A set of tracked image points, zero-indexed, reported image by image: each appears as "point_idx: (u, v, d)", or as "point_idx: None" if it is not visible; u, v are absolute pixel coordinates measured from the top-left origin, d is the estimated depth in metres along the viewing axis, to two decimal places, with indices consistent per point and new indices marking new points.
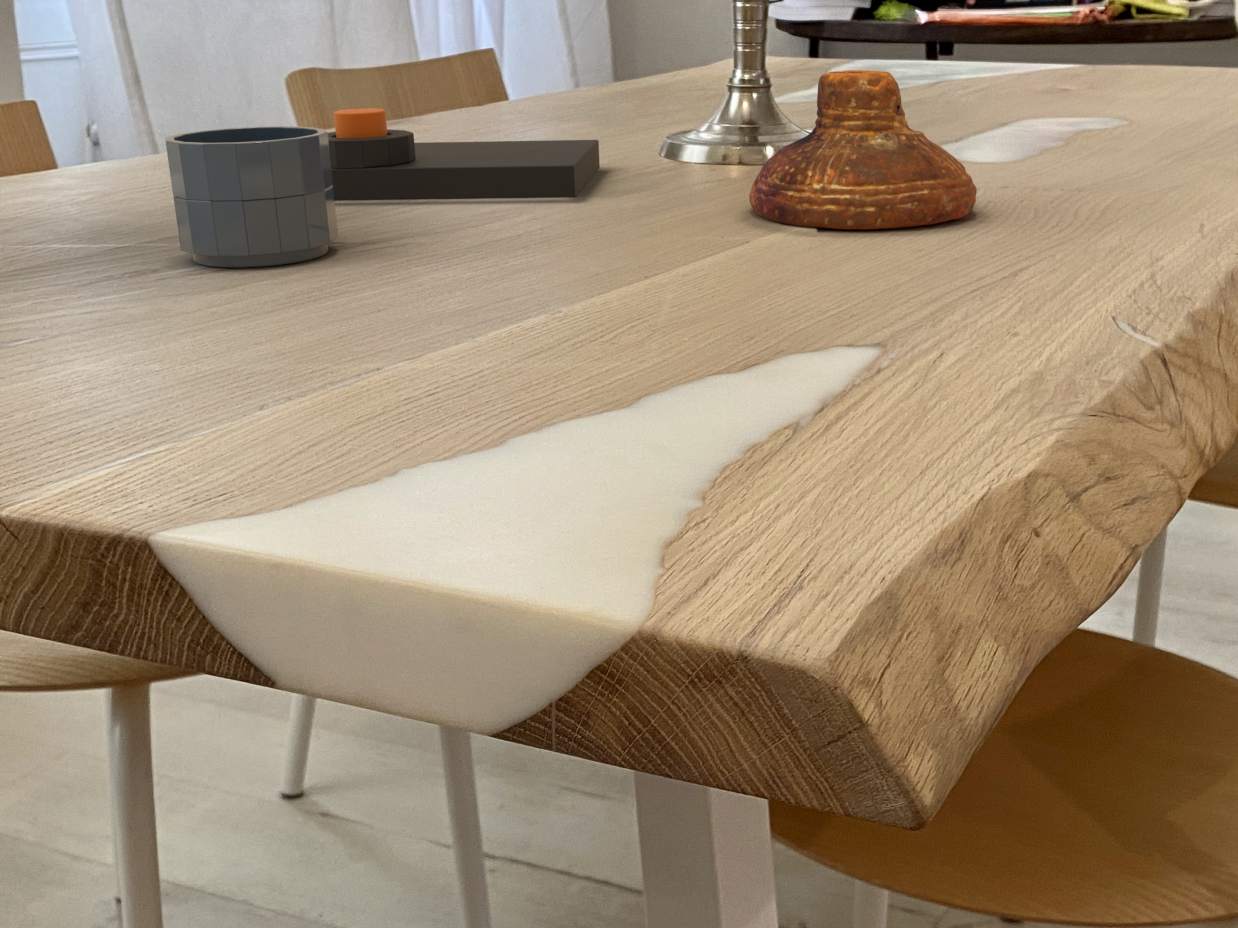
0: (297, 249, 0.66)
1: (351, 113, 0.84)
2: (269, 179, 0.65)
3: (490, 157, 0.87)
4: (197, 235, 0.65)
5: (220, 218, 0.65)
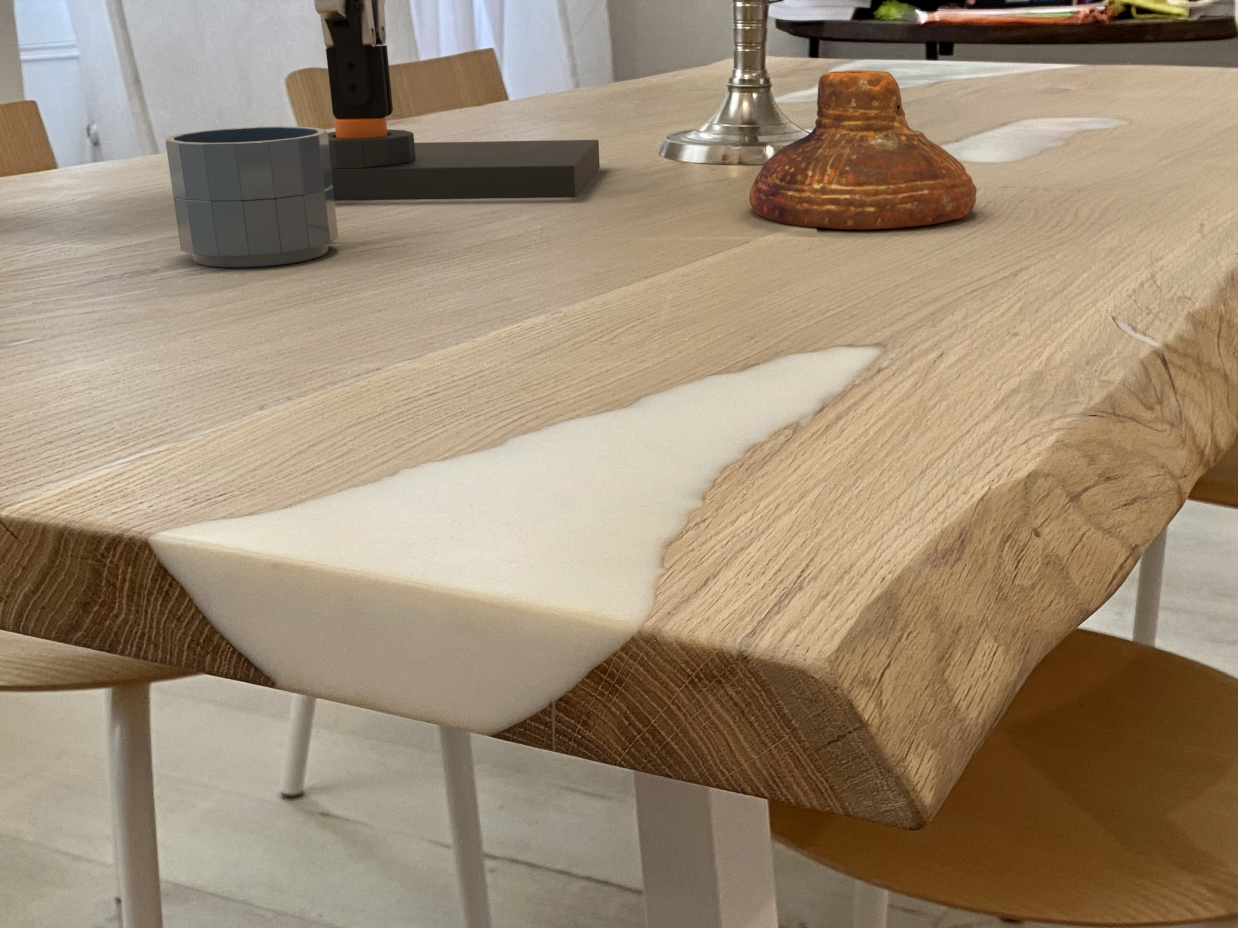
0: (297, 249, 0.66)
1: (352, 120, 0.84)
2: (269, 179, 0.65)
3: (490, 157, 0.87)
4: (197, 235, 0.65)
5: (220, 218, 0.65)
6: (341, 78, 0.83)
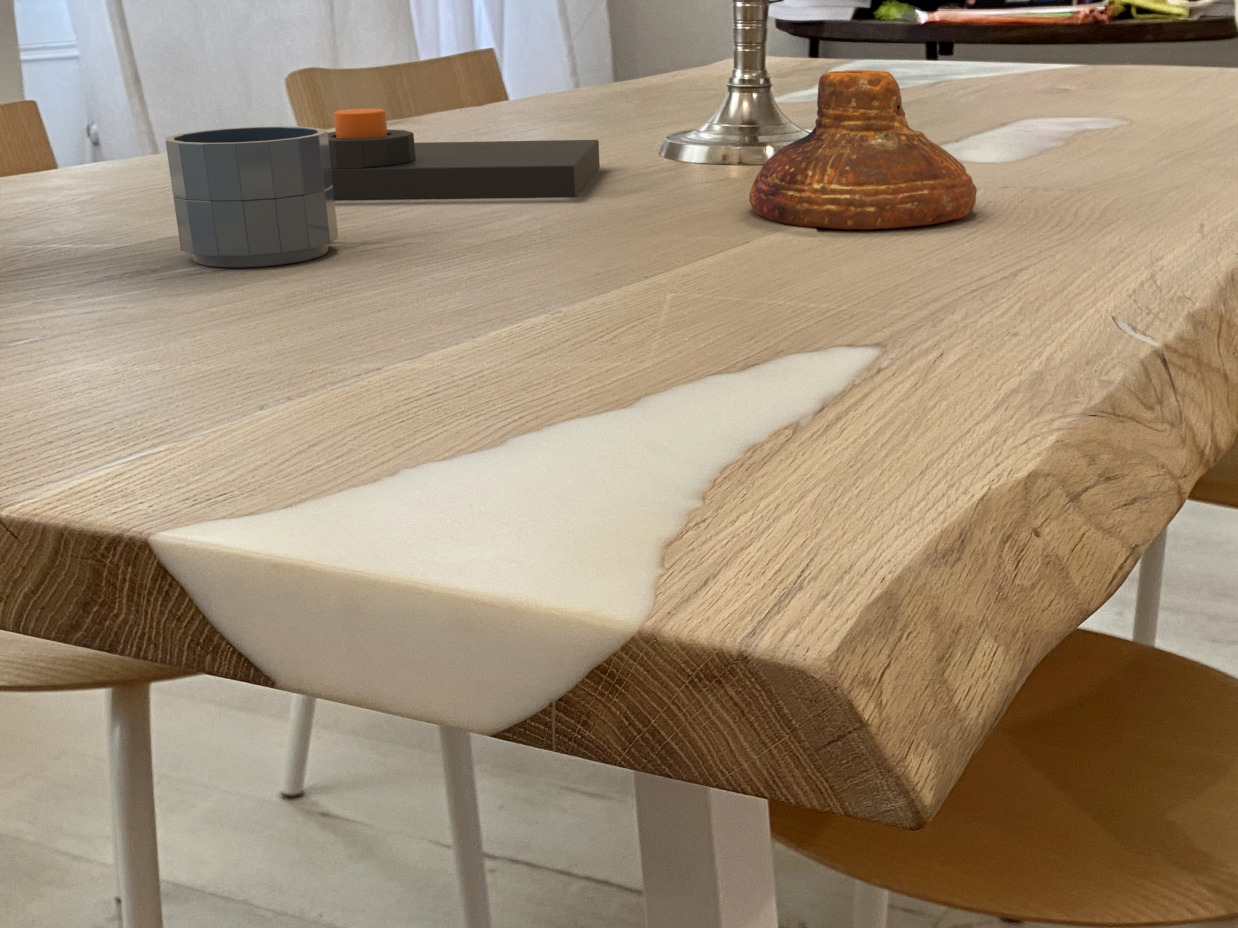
0: (297, 249, 0.66)
1: (351, 113, 0.84)
2: (269, 179, 0.65)
3: (490, 157, 0.87)
4: (197, 235, 0.65)
5: (220, 218, 0.65)
6: None
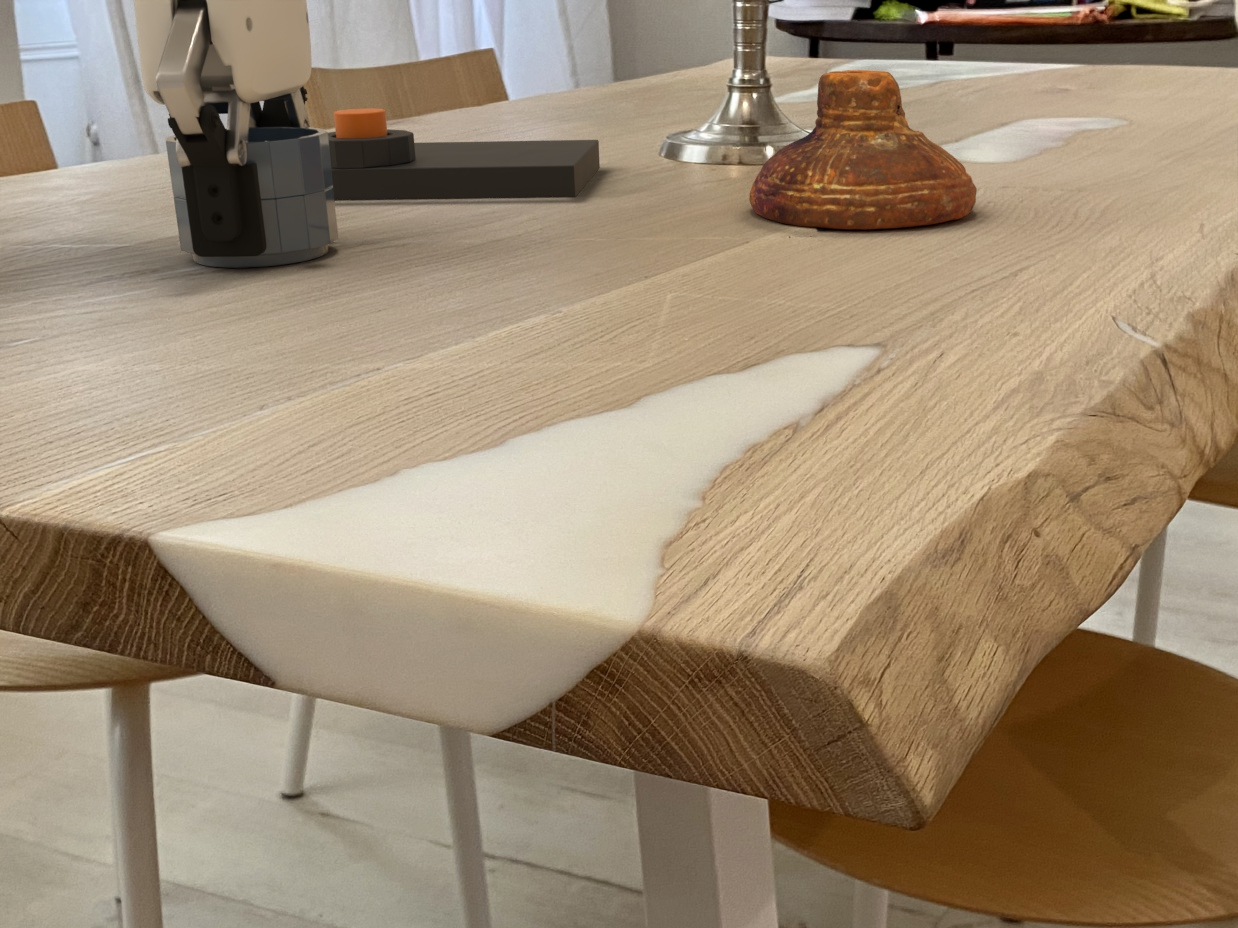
0: (297, 249, 0.66)
1: (351, 113, 0.84)
2: (269, 179, 0.65)
3: (490, 157, 0.87)
4: None
5: None
6: (201, 205, 0.63)
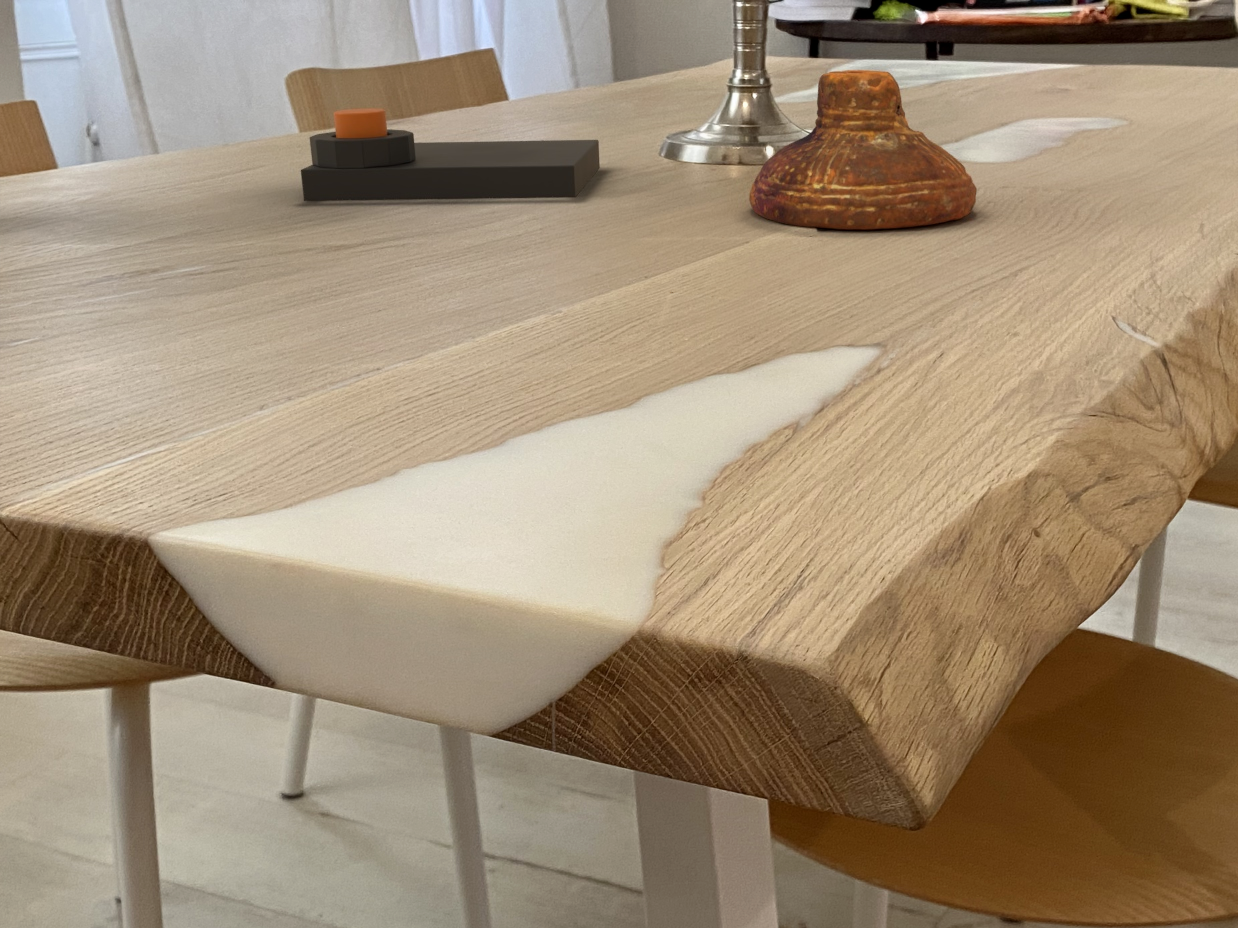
0: None
1: (351, 113, 0.84)
2: None
3: (490, 157, 0.87)
4: None
5: None
6: None
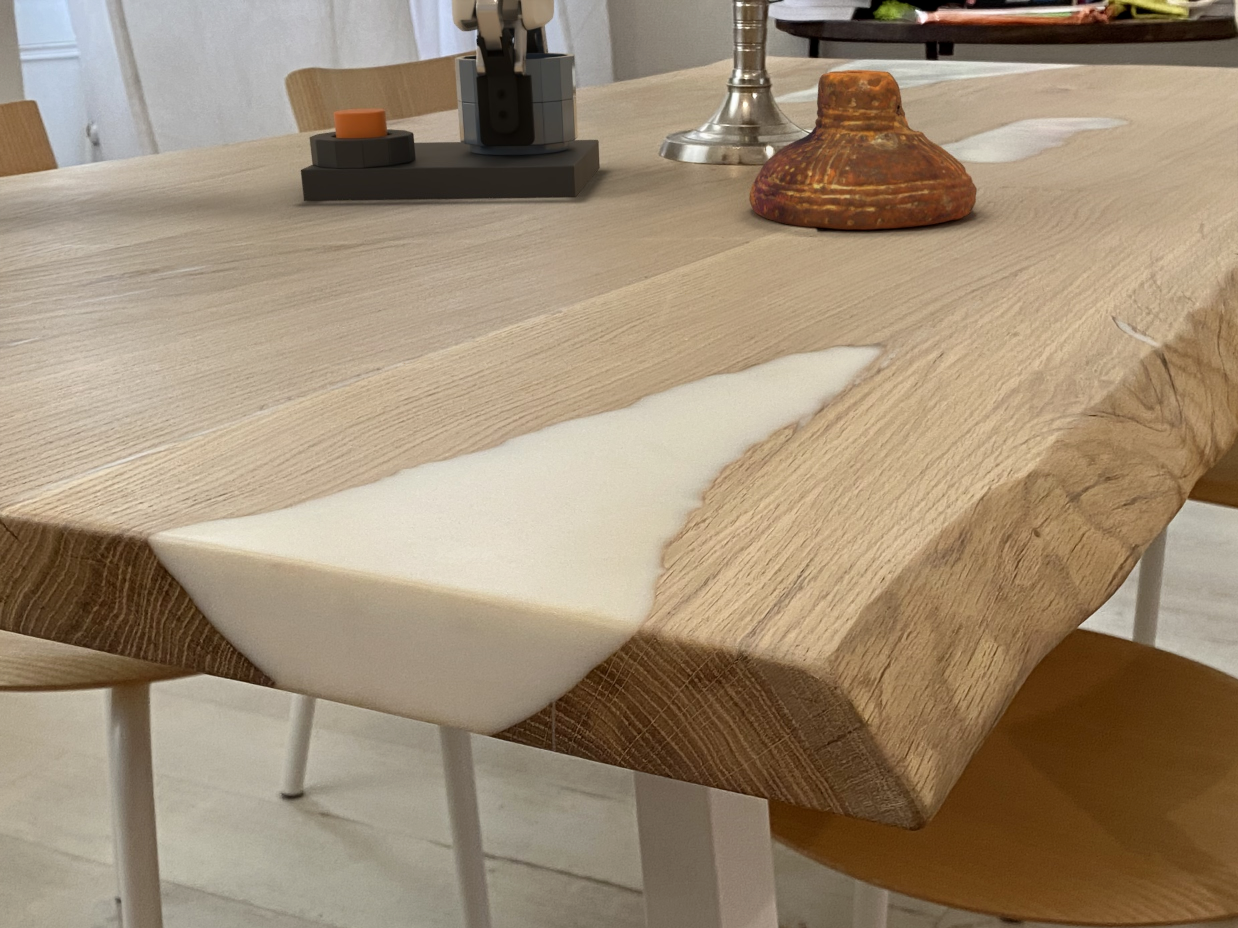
0: (555, 141, 0.88)
1: (351, 113, 0.84)
2: (539, 87, 0.86)
3: (490, 157, 0.87)
4: None
5: None
6: (491, 106, 0.85)
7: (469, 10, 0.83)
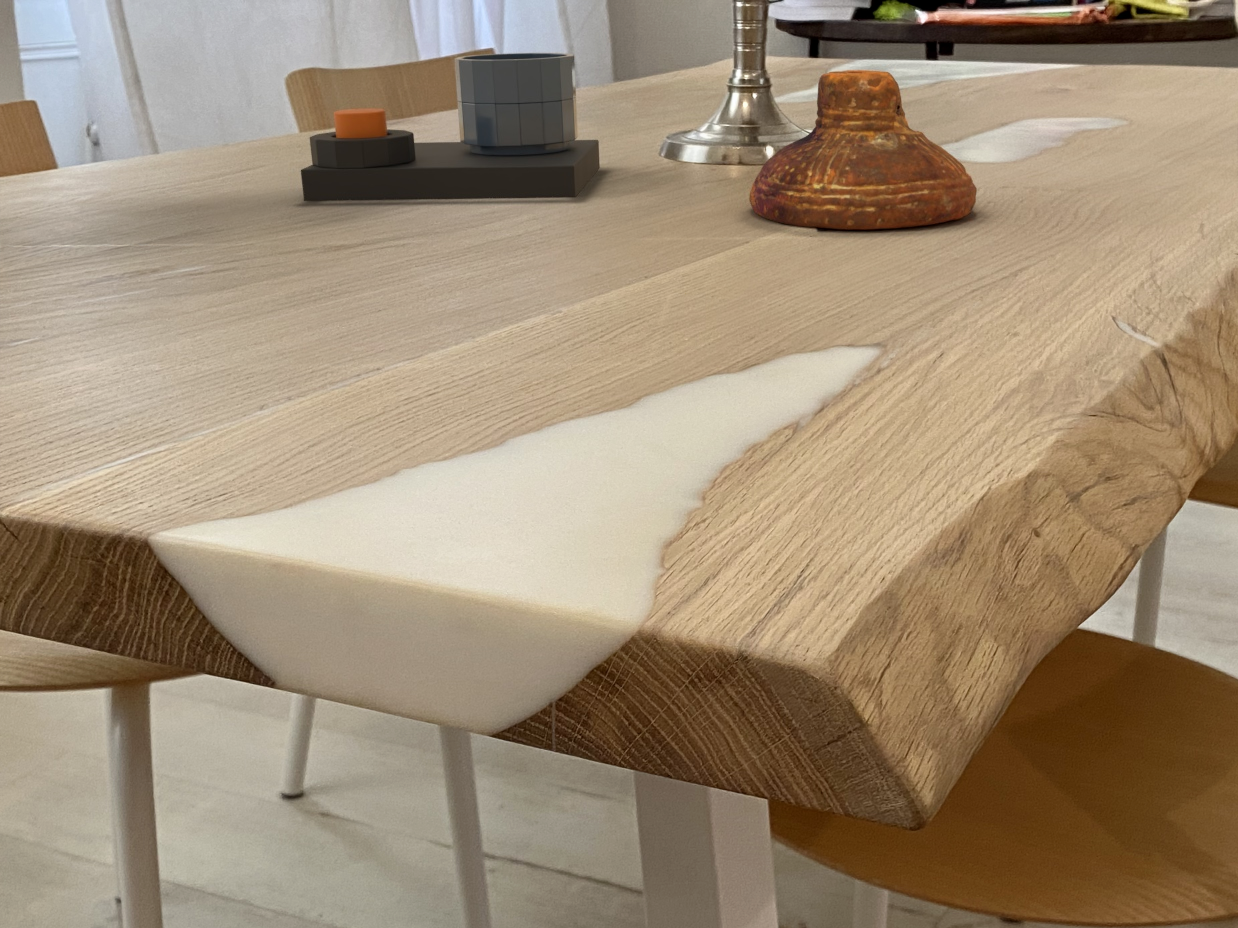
0: (555, 141, 0.88)
1: (351, 113, 0.84)
2: (539, 87, 0.86)
3: (490, 157, 0.87)
4: (481, 130, 0.87)
5: (501, 117, 0.86)
6: None
7: None
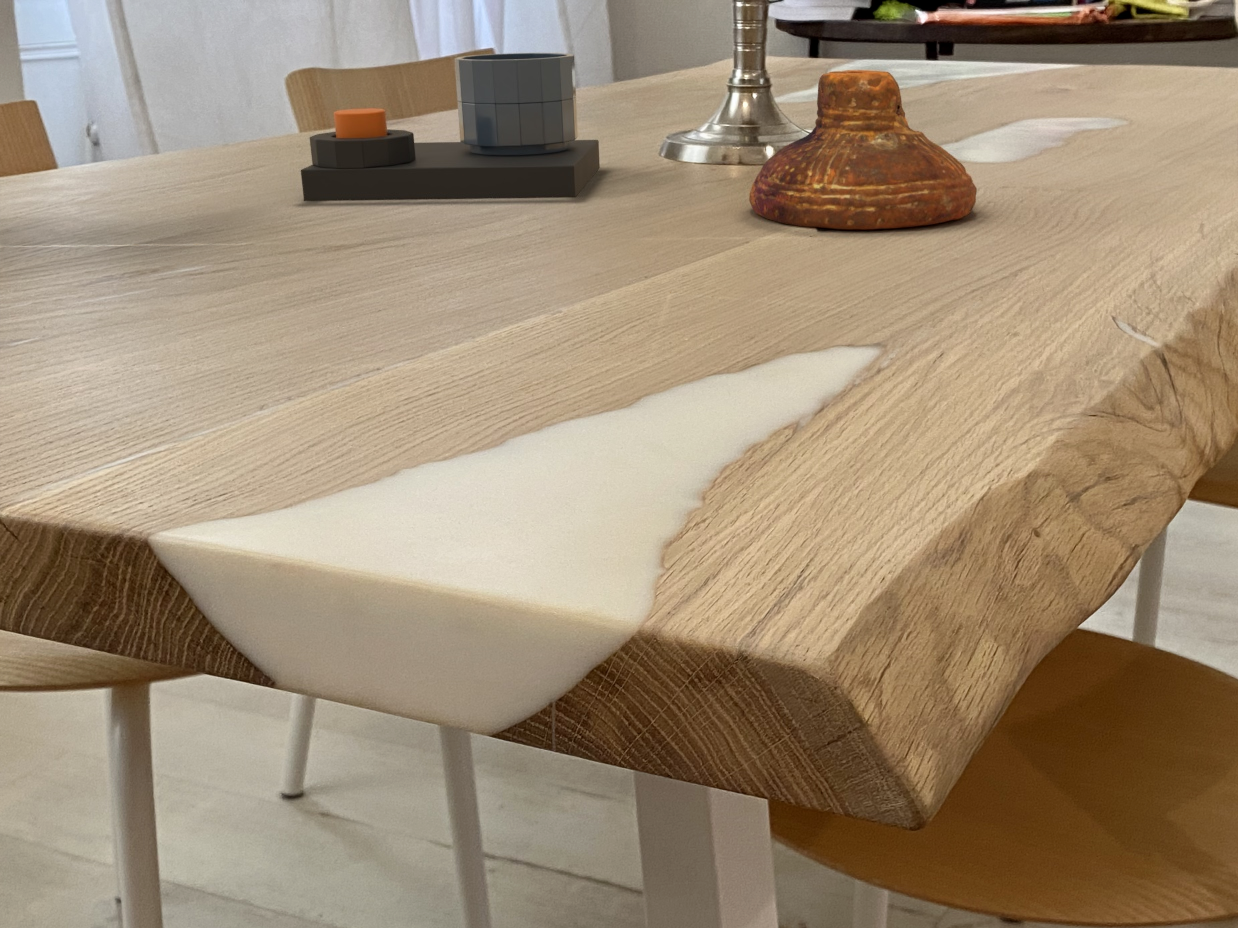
0: (555, 141, 0.88)
1: (351, 113, 0.84)
2: (539, 87, 0.86)
3: (490, 157, 0.87)
4: (481, 130, 0.87)
5: (501, 117, 0.86)
6: None
7: None
